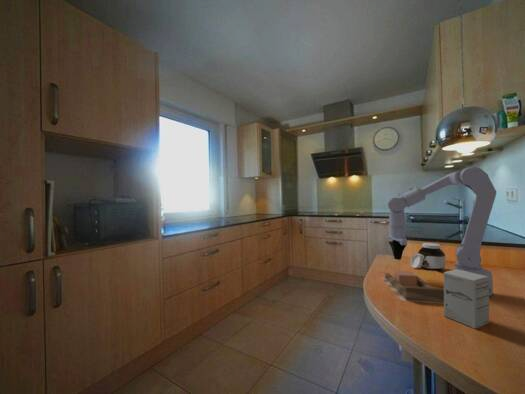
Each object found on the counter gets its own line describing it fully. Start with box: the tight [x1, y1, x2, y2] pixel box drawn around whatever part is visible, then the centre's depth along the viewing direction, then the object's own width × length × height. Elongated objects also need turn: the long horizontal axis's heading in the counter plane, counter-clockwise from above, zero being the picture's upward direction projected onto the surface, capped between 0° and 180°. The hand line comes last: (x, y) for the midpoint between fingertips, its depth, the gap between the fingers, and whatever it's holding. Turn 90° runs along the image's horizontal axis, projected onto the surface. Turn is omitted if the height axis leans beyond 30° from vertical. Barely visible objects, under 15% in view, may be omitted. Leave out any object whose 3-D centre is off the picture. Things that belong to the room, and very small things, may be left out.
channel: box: [381, 272, 444, 305], centre depth 83 cm, size 22×14×5 cm, turn 168°
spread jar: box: [410, 242, 447, 272], centre depth 108 cm, size 12×11×12 cm
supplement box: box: [443, 268, 490, 330], centre depth 63 cm, size 7×7×13 cm
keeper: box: [393, 270, 418, 287], centre depth 88 cm, size 5×6×4 cm
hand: (397, 259), depth 95 cm, fingers closed
